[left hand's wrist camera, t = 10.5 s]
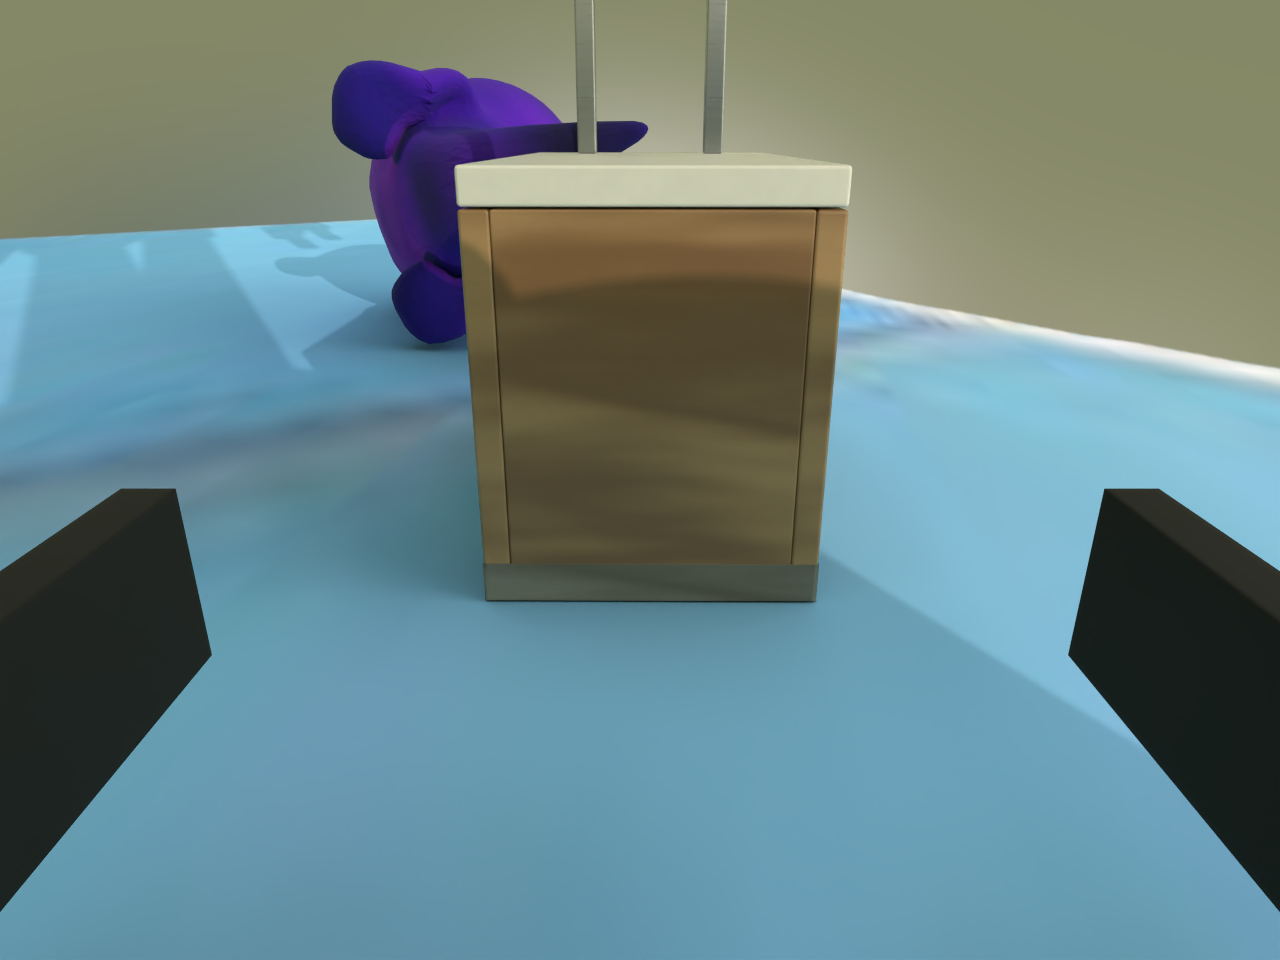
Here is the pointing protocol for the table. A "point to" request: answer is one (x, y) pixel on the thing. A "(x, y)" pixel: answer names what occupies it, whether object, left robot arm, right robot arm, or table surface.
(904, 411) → the table surface
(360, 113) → the toy
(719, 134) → the lid
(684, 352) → the chest
